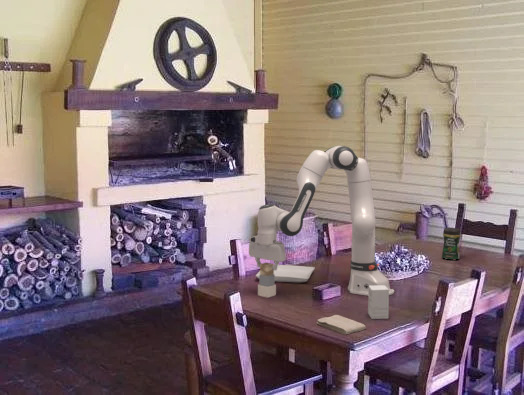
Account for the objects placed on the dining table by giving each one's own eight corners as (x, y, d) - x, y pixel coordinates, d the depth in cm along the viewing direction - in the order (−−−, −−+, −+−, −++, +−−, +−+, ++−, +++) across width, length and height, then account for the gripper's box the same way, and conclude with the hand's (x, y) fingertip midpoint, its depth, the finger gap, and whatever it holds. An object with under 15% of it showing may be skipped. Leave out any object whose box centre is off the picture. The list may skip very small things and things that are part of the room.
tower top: (274, 284, 319) (274, 274, 318) (267, 286, 315) (267, 276, 314) (266, 283, 322) (266, 272, 321) (259, 285, 318) (259, 274, 318)
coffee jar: (440, 259, 396) (441, 228, 393) (444, 257, 402) (445, 226, 400) (457, 261, 391) (458, 229, 388) (460, 258, 397) (462, 227, 395)
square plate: (308, 285, 338) (308, 277, 338) (254, 282, 344) (254, 275, 343) (315, 272, 365) (315, 265, 364) (265, 270, 370) (265, 263, 370)
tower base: (275, 295, 319) (275, 284, 319) (267, 297, 315) (267, 287, 314) (266, 292, 323) (266, 282, 323) (257, 295, 319) (257, 285, 318)
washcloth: (335, 319, 283) (335, 312, 283) (367, 330, 269) (367, 323, 269) (314, 325, 276) (314, 317, 276) (346, 336, 262) (346, 328, 261)
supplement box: (384, 313, 290) (385, 284, 288) (388, 319, 282) (389, 289, 281) (367, 314, 289) (368, 285, 288) (370, 319, 282) (371, 289, 280)
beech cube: (273, 274, 318) (273, 263, 318) (267, 276, 315) (267, 265, 314) (266, 272, 321) (266, 262, 320) (260, 274, 318) (260, 264, 317)
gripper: (288, 241, 311) (288, 270, 313) (255, 235, 325) (255, 264, 327) (279, 243, 307) (279, 273, 308) (246, 237, 320) (246, 266, 322)
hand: (267, 268), depth 318 cm, fingers open, 8 cm apart
